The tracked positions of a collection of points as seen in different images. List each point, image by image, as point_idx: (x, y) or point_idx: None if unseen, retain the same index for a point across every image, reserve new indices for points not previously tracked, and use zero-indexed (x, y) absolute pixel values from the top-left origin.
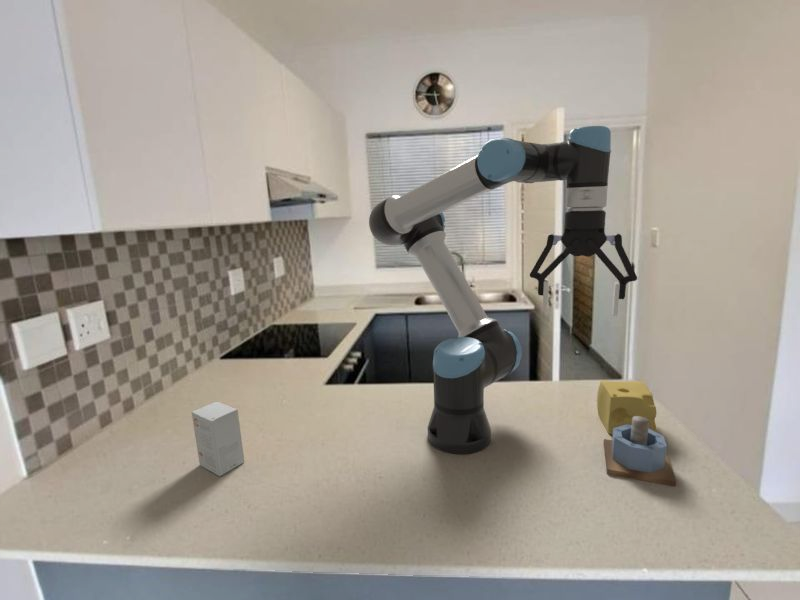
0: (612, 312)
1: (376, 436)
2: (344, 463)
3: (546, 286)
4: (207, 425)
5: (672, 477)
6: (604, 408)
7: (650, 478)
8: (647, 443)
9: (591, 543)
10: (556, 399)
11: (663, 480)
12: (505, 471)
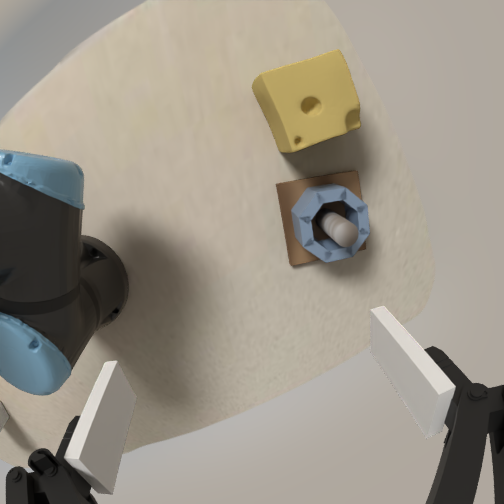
0: (372, 328)
1: None
2: None
3: (112, 476)
4: None
5: (363, 242)
6: (271, 118)
7: None
8: (342, 201)
9: (286, 373)
10: (170, 65)
11: None
12: (174, 322)
